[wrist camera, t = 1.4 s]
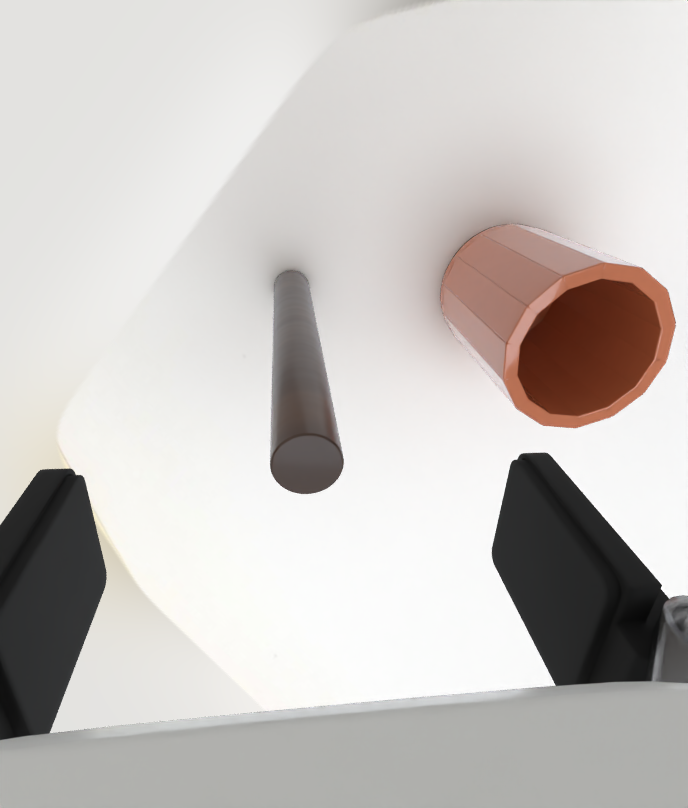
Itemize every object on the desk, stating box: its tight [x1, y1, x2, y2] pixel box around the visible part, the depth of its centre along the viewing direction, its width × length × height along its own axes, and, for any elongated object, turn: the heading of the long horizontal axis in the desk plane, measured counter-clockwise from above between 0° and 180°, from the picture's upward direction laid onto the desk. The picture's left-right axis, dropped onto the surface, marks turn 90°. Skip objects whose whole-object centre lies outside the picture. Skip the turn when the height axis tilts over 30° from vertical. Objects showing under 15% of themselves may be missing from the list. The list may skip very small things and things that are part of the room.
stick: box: [270, 270, 344, 494], centre depth 20 cm, size 2×2×16 cm
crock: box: [440, 224, 676, 428], centre depth 24 cm, size 7×7×9 cm
